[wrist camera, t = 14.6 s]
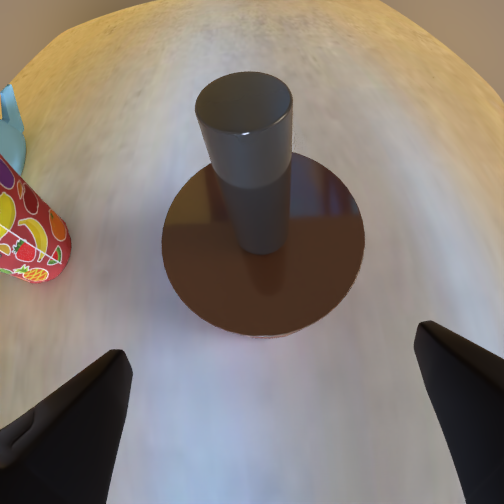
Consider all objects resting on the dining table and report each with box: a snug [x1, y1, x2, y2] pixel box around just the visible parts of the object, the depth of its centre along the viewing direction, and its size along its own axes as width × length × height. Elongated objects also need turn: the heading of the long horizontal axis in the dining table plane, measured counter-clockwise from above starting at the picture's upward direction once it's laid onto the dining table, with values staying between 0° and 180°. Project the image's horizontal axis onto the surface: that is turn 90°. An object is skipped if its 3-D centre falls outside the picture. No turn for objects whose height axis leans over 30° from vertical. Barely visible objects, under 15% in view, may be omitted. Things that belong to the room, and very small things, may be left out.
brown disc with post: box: [162, 72, 365, 337], centre depth 14 cm, size 12×12×11 cm
